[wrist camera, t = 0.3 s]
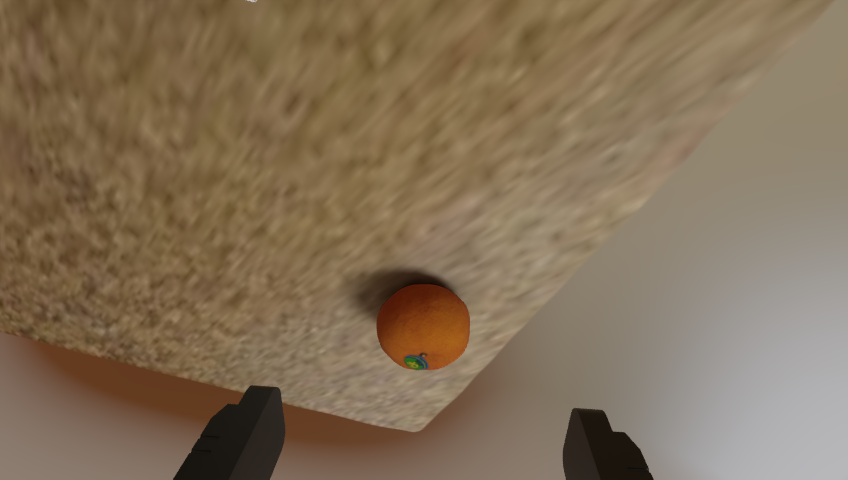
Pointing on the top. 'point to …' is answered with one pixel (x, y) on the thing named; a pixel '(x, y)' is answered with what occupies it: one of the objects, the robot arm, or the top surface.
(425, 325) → the fruit
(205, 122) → the top surface
